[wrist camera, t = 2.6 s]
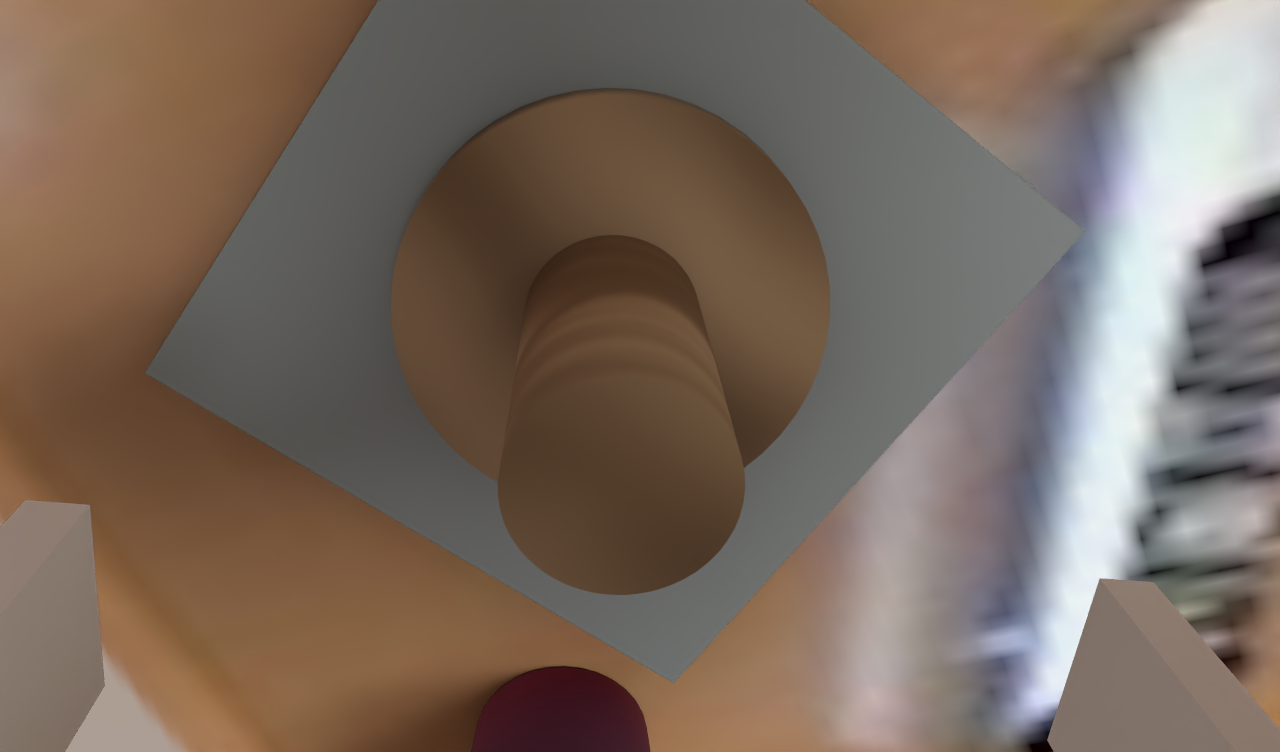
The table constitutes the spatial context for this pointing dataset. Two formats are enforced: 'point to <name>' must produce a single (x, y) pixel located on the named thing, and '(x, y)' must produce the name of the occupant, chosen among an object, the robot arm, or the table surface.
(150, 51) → the table surface
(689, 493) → the lid
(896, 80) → the mat
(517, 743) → the cup
